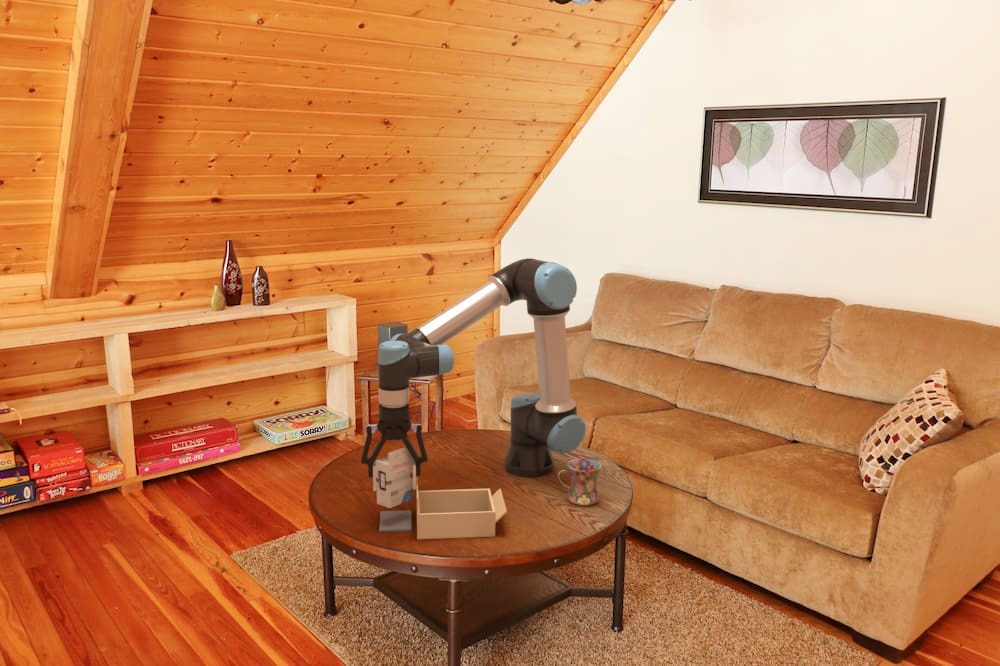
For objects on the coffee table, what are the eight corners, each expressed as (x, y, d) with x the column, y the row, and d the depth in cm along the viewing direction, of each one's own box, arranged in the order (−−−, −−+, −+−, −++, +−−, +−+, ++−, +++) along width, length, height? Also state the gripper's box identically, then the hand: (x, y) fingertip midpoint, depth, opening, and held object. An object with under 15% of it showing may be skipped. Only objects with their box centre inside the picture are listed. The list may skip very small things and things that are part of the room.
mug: (594, 493, 229) (596, 457, 227) (604, 507, 220) (606, 470, 218) (553, 495, 227) (554, 459, 225) (561, 509, 218) (562, 472, 216)
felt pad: (411, 512, 215) (411, 510, 215) (411, 531, 205) (411, 528, 205) (380, 513, 214) (380, 511, 214) (379, 532, 204) (379, 530, 204)
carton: (499, 506, 219) (499, 470, 217) (506, 535, 203) (507, 496, 201) (416, 509, 217) (416, 472, 215) (417, 539, 200) (416, 499, 198)
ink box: (400, 493, 213) (399, 440, 210) (413, 498, 210) (413, 444, 207) (375, 503, 207) (374, 448, 204) (389, 509, 203) (388, 453, 200)
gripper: (437, 398, 208) (437, 481, 212) (350, 399, 205) (352, 483, 210) (438, 407, 200) (438, 492, 205) (348, 408, 198) (350, 495, 203)
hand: (394, 488), depth 208 cm, fingers closed on ink box, 9 cm apart
